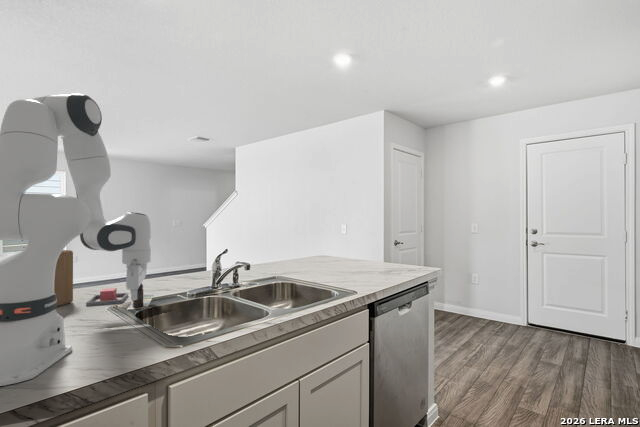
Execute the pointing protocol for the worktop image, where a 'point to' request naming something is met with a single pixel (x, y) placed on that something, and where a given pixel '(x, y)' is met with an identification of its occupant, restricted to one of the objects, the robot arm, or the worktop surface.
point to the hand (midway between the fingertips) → (136, 296)
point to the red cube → (108, 294)
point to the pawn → (139, 298)
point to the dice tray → (91, 303)
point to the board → (146, 301)
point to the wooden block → (64, 278)
